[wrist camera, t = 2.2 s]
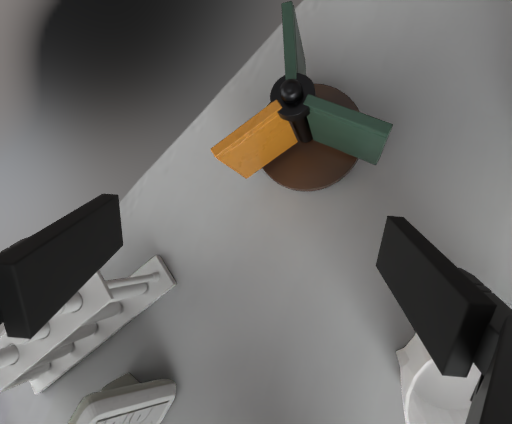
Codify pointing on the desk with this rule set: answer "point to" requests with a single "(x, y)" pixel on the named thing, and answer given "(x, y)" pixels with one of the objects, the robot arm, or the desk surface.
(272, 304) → the desk surface
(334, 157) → the rack stand
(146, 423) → the digital clock
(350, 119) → the three-panel rotating stand
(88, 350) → the test tube rack
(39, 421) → the desk surface
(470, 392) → the cup
